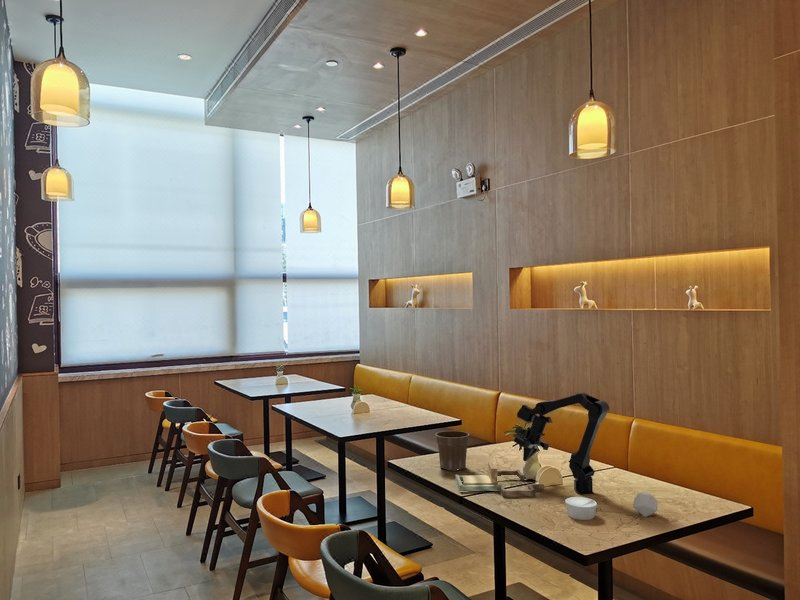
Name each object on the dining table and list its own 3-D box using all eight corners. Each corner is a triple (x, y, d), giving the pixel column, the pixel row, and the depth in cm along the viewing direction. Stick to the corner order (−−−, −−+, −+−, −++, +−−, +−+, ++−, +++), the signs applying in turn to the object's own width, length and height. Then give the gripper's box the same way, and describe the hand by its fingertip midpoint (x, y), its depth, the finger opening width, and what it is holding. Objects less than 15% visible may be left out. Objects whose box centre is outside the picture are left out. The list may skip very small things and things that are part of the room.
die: (643, 510, 227) (628, 490, 226) (664, 503, 222) (648, 483, 222) (642, 525, 220) (626, 504, 220) (663, 518, 215) (647, 497, 215)
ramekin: (599, 522, 214) (598, 507, 214) (566, 520, 216) (566, 505, 216) (595, 511, 225) (595, 497, 225) (564, 509, 227) (564, 496, 227)
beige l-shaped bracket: (494, 482, 262) (494, 462, 262) (497, 490, 252) (497, 468, 252) (462, 483, 262) (462, 462, 262) (464, 490, 252) (464, 469, 252)
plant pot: (435, 463, 295) (435, 430, 295) (468, 462, 294) (468, 430, 294) (436, 472, 278) (435, 437, 278) (471, 472, 278) (470, 437, 278)
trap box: (531, 475, 272) (531, 468, 272) (548, 496, 242) (548, 488, 242) (453, 476, 271) (453, 470, 271) (462, 498, 242) (462, 490, 242)
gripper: (535, 422, 274) (523, 453, 275) (511, 418, 262) (498, 450, 263) (555, 433, 265) (542, 465, 266) (530, 429, 253) (516, 463, 254)
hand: (524, 460), depth 262 cm, fingers closed
